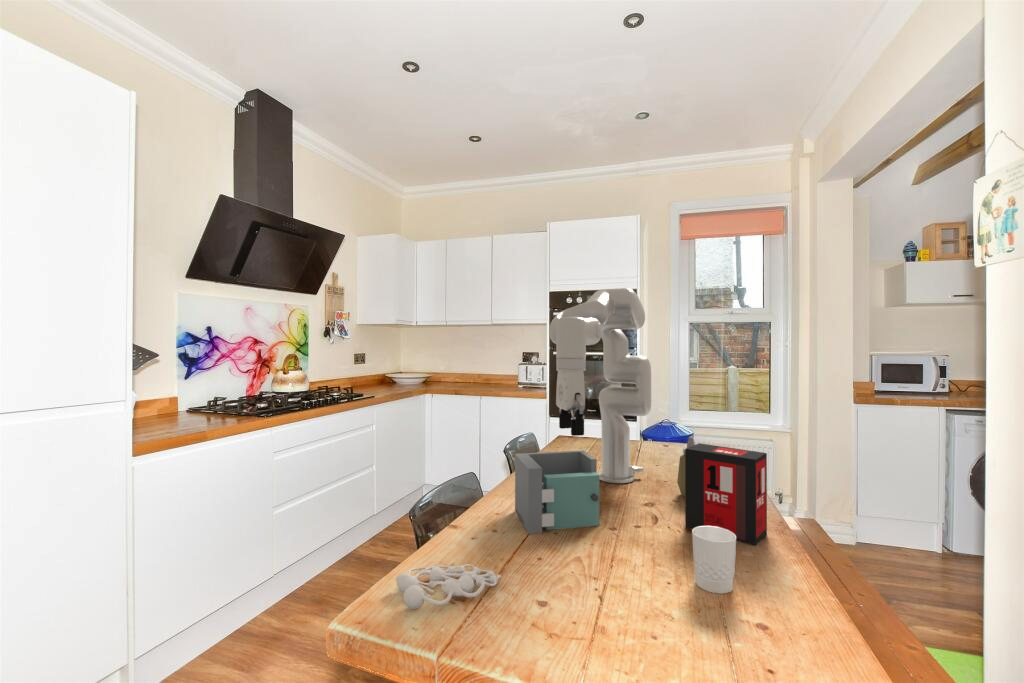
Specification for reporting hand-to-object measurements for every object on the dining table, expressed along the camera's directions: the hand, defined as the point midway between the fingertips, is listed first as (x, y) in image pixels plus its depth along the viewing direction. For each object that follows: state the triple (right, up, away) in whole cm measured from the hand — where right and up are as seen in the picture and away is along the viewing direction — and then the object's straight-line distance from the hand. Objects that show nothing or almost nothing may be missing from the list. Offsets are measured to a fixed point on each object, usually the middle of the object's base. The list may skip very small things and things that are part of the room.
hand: (571, 431), depth 122 cm
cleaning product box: (+38, -24, -4) cm, 45 cm away
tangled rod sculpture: (-28, -25, -31) cm, 49 cm away
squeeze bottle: (+40, -24, +23) cm, 52 cm away
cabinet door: (0, -24, 0) cm, 24 cm away
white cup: (+24, -24, -30) cm, 45 cm away
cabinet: (-3, -24, +4) cm, 25 cm away
